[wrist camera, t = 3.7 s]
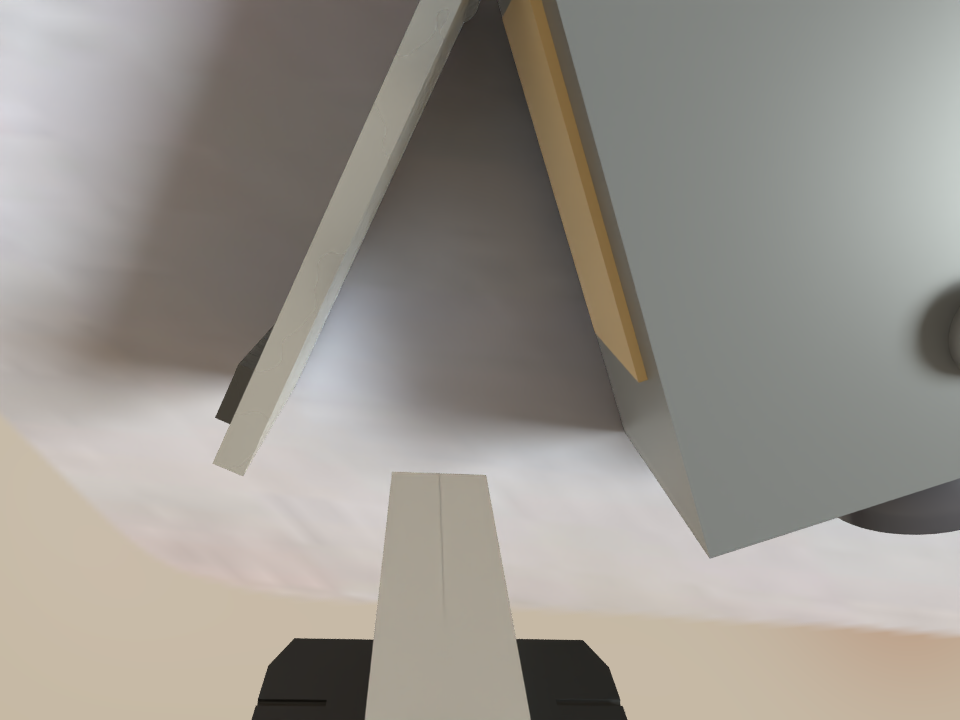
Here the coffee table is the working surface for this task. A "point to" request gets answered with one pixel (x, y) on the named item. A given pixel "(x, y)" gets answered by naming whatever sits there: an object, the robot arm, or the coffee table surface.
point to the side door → (339, 233)
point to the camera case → (765, 246)
